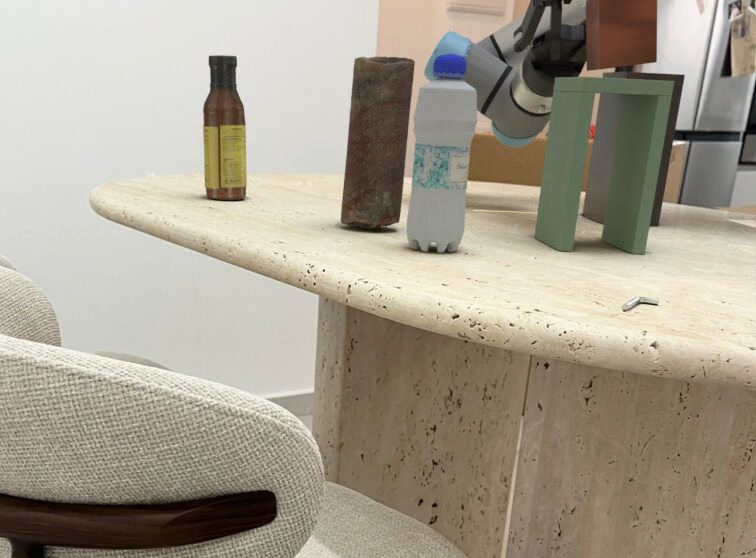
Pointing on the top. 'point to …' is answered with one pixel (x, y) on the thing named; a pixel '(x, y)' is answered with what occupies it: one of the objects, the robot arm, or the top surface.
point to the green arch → (630, 165)
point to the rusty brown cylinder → (377, 141)
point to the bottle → (441, 156)
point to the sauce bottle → (224, 133)
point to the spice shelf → (607, 142)
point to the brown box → (620, 33)
